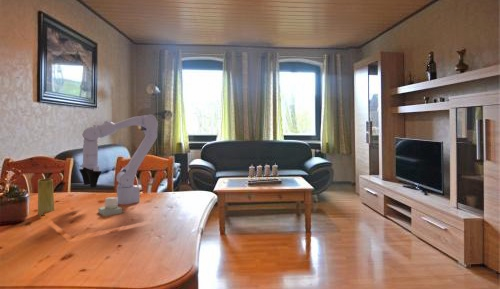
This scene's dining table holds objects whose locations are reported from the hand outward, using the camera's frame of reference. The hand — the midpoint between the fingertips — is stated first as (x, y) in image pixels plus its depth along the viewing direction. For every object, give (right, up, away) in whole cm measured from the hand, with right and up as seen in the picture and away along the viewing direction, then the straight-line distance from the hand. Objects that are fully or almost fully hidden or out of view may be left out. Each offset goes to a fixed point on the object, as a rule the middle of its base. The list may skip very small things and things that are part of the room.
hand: (90, 185), depth 139 cm
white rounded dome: (+13, -8, -9) cm, 18 cm away
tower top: (+13, -10, -9) cm, 19 cm away
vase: (-15, -11, -7) cm, 20 cm away
